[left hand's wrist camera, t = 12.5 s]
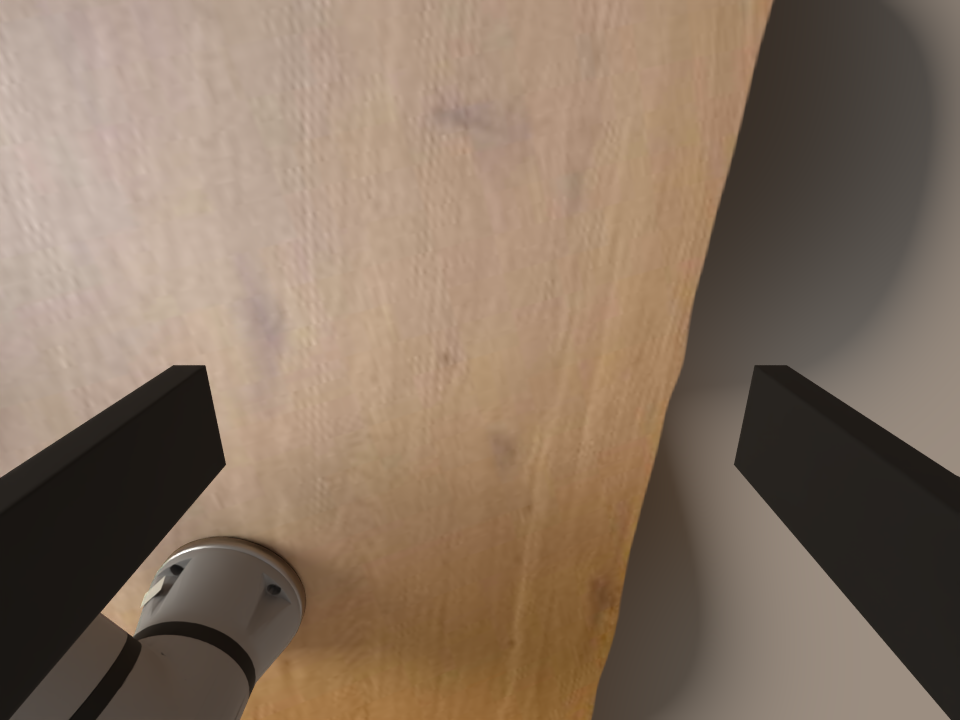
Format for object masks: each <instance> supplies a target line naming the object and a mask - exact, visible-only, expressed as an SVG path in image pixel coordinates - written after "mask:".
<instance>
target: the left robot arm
mask: <svg viewBox="0 0 960 720" xmlns="http://www.w3.org/2000/svg"><path fill="white" fill-rule="evenodd" d="M225 465H226V463H225V458H224V453H223V448H222V443H221V439H220V434H219V429H218V424H217V419H216V414H215V410H214V405H213V400H212V395H211V390H210V386H209V381H208V376H207V371H206V366H205V365H173V366H172V367H170V368H168V369H167V370H165V371H164V372H162V373H161V374H159V375H158V376H156V377H155V378H153V379H152V380H150V381H148V382H147V383H145V384H144V385H142V386H141V387H139V388H138V389H136V390H135V391H133V392H132V393H130V394H128V395H127V396H125V397H124V398H122V399H121V400H119V401H118V402H116V403H115V404H113V405H112V406H110V407H108V408H107V409H105V410H104V411H102V412H101V413H99V414H98V415H96V416H95V417H93V418H92V419H90V420H88V421H87V422H85V423H84V424H82V425H81V426H79V427H78V428H76V429H75V430H73V431H72V432H70V433H68V434H67V435H65V436H64V437H62V438H61V439H59V440H58V441H56V442H55V443H53V444H52V445H50V446H49V447H47V448H45V449H44V450H42V451H41V452H39V453H38V454H36V455H35V456H33V457H32V458H30V459H29V460H27V461H25V462H24V463H22V464H21V465H19V466H18V467H16V468H15V469H13V470H12V471H10V472H9V473H7V474H5V475H4V476H2V477H1V478H0V720H240V718H241V716H242V714H243V711H244V709H245V707H246V704H247V701H248V699H249V697H250V694H251V692H252V690H253V688H254V686H255V683H256V682H257V681H258V680H259V678H260V677H261V676H262V675H263V674H264V673H265V671H266V670H267V669H268V668H269V667H270V666H271V664H272V663H273V662H274V661H275V660H276V658H277V657H278V656H279V655H280V654H281V653H282V651H283V650H284V649H285V648H286V647H287V646H288V644H289V643H290V642H291V640H292V639H293V637H294V636H295V634H296V632H297V630H298V628H299V626H300V623H301V620H302V618H303V615H304V612H305V606H306V598H305V592H304V588H303V586H302V583H301V581H300V579H299V577H298V576H297V574H296V573H295V572H294V570H293V569H292V568H291V567H290V566H289V565H288V564H287V563H286V562H285V561H284V560H283V559H282V558H280V557H279V556H278V555H276V554H275V553H273V552H272V551H270V550H268V549H266V548H264V547H262V546H260V545H258V544H255V543H252V542H249V541H245V540H241V539H236V538H228V537H212V538H204V539H200V540H196V541H193V542H190V543H188V544H186V545H184V546H182V547H180V548H179V549H177V550H176V551H175V552H174V553H173V554H172V555H171V556H170V557H169V558H168V559H167V560H166V562H165V563H164V564H163V565H162V567H161V568H160V569H159V570H158V572H157V574H156V575H155V577H154V579H153V581H152V583H151V586H150V589H149V591H148V592H147V593H146V594H145V596H144V599H143V602H142V605H141V607H142V606H143V605H144V607H143V610H142V613H141V616H140V619H139V622H138V625H137V628H136V631H135V634H134V636H133V637H132V636H131V635H129V634H128V633H127V632H126V631H124V630H123V629H122V628H120V627H119V626H118V625H116V624H115V623H114V622H112V621H111V620H110V619H108V618H107V617H106V616H104V615H103V614H102V613H100V612H101V611H102V610H103V609H104V607H105V606H106V605H107V604H108V603H109V602H110V600H111V599H112V598H113V597H114V596H115V595H116V593H117V592H118V591H119V590H120V589H121V587H122V586H123V585H124V584H125V583H126V582H127V580H128V579H129V578H130V577H131V576H132V575H133V573H134V572H135V571H136V570H137V569H138V567H139V566H140V565H141V564H142V563H143V562H144V560H145V559H146V558H147V557H148V556H149V555H150V553H151V552H152V551H153V550H154V549H155V547H156V546H157V545H158V544H159V543H160V542H161V540H162V539H163V538H164V537H165V536H166V535H167V533H168V532H169V531H170V530H171V529H172V527H173V526H174V525H175V524H176V523H177V522H178V520H179V519H180V518H181V517H182V516H183V515H184V513H185V512H186V511H187V510H188V509H189V508H190V506H191V505H192V504H193V503H194V502H195V500H196V499H197V498H198V497H199V496H200V495H201V493H202V492H203V491H204V490H205V489H206V488H207V486H208V485H209V484H210V483H211V482H212V480H213V479H214V478H215V477H216V476H217V475H218V473H219V472H220V471H221V470H222V469H223V468H224V466H225ZM734 465H735V466H736V467H737V469H738V470H739V471H740V472H741V473H742V475H743V476H744V477H745V478H746V479H747V480H748V482H749V483H750V484H751V485H752V486H753V487H754V489H755V490H756V491H757V492H758V493H759V495H760V496H761V497H762V498H763V499H764V500H765V502H766V503H767V504H768V505H769V506H770V507H771V509H772V510H773V511H774V512H775V513H776V515H777V516H778V517H779V518H780V519H781V520H782V522H783V523H784V524H785V525H786V526H787V527H788V529H789V530H790V531H791V532H792V533H793V535H794V536H795V537H796V538H797V539H798V540H799V542H800V543H801V544H802V545H803V546H804V547H805V549H806V550H807V551H808V552H809V553H810V555H811V556H812V557H813V558H814V559H815V560H816V562H817V563H818V564H819V565H820V566H821V567H822V569H823V570H824V571H825V572H826V573H827V575H828V576H829V577H830V578H831V579H832V580H833V582H834V583H835V584H836V585H837V586H838V587H839V589H840V590H841V591H842V592H843V593H844V594H845V596H846V597H847V598H848V599H849V600H850V602H851V603H852V604H853V605H854V606H855V607H856V609H857V610H858V611H859V612H860V613H861V615H862V616H863V617H864V618H865V619H866V620H867V622H868V623H869V624H870V625H871V626H872V627H873V629H874V630H875V631H876V632H877V633H878V635H879V636H880V637H881V638H882V639H883V640H884V642H885V643H886V644H887V645H888V646H889V647H890V649H891V650H892V651H893V652H894V653H895V655H896V656H897V657H898V658H899V659H900V660H901V662H902V663H903V664H904V665H905V666H906V667H907V669H908V670H909V671H910V672H911V673H912V674H913V676H914V677H915V678H916V679H917V680H918V681H919V683H920V684H921V685H922V686H923V687H924V689H925V690H926V691H927V692H928V693H929V694H930V696H931V697H932V698H933V699H934V700H935V702H936V703H937V704H938V705H939V706H940V707H941V709H942V710H943V711H944V712H945V713H946V714H947V716H948V717H949V718H950V719H951V720H960V477H958V476H956V475H954V474H953V473H951V472H950V471H948V470H947V469H945V468H944V467H942V466H941V465H939V464H938V463H936V462H934V461H933V460H931V459H930V458H928V457H927V456H925V455H924V454H922V453H921V452H919V451H918V450H916V449H915V448H913V447H911V446H910V445H908V444H907V443H905V442H904V441H902V440H901V439H899V438H898V437H896V436H895V435H893V434H892V433H890V432H888V431H887V430H885V429H884V428H882V427H881V426H879V425H878V424H876V423H875V422H873V421H871V420H870V419H868V418H867V417H865V416H864V415H862V414H861V413H859V412H858V411H856V410H855V409H853V408H852V407H850V406H848V405H847V404H845V403H844V402H842V401H841V400H839V399H838V398H836V397H835V396H833V395H832V394H830V393H828V392H827V391H825V390H824V389H822V388H821V387H819V386H818V385H816V384H815V383H813V382H812V381H810V380H808V379H807V378H805V377H804V376H802V375H801V374H799V373H798V372H796V371H795V370H793V369H792V368H790V367H788V366H787V365H755V366H754V371H753V376H752V381H751V386H750V390H749V395H748V400H747V405H746V410H745V414H744V419H743V424H742V429H741V434H740V439H739V443H738V448H737V453H736V458H735V463H734ZM141 607H140V608H141Z"/></svg>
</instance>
